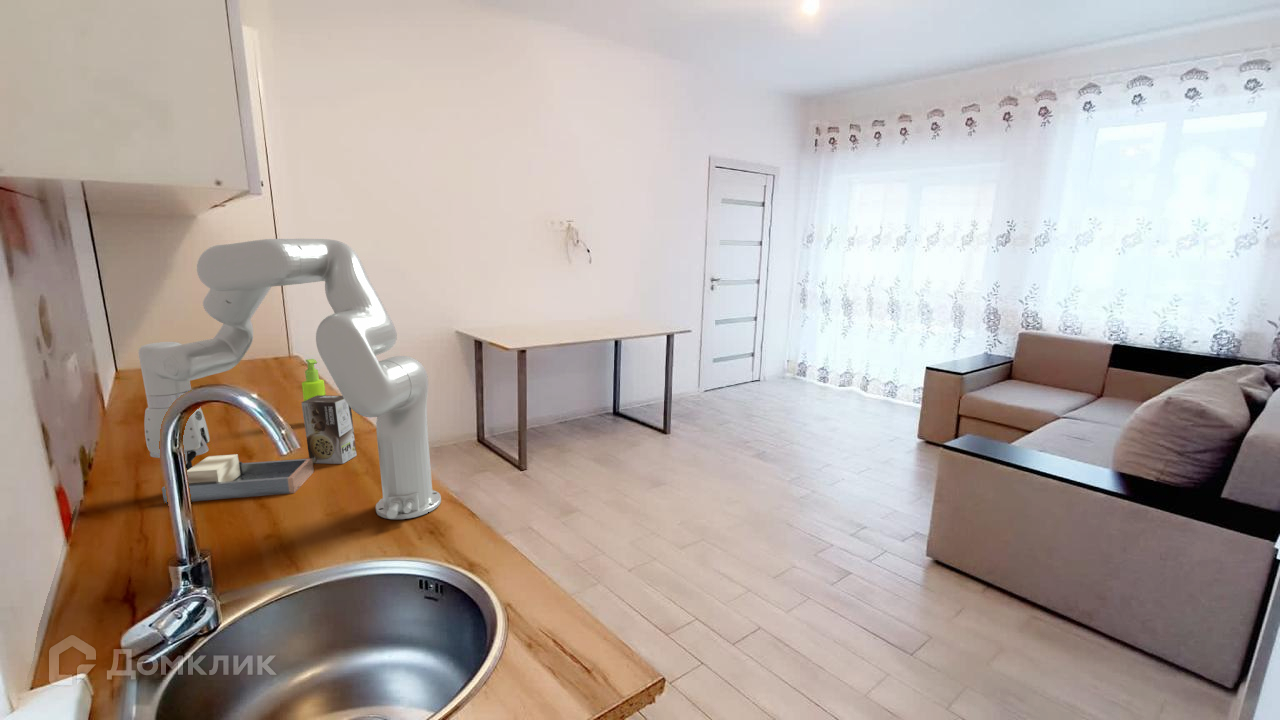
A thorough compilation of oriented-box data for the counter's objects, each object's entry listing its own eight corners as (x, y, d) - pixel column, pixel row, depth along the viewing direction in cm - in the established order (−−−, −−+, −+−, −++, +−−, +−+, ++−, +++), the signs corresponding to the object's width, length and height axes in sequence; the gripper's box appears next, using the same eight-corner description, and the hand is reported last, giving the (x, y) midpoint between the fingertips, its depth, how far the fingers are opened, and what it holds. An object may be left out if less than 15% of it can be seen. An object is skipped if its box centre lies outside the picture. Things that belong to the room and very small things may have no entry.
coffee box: (357, 455, 147) (351, 395, 143) (342, 464, 140) (335, 402, 137) (324, 454, 148) (317, 394, 144) (308, 463, 141) (300, 401, 138)
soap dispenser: (310, 428, 168) (302, 362, 164) (304, 423, 173) (296, 359, 169) (332, 424, 172) (324, 359, 168) (325, 419, 177) (318, 356, 173)
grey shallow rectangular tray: (294, 493, 124) (292, 476, 124) (164, 503, 120) (161, 486, 119) (313, 472, 136) (311, 456, 135) (196, 480, 131) (193, 464, 130)
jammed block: (220, 491, 122) (216, 469, 121) (188, 494, 121) (184, 472, 120) (240, 474, 131) (237, 454, 130) (211, 476, 130) (208, 456, 129)
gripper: (218, 393, 126) (230, 470, 130) (141, 397, 123) (156, 476, 127) (200, 402, 119) (213, 484, 123) (118, 406, 116) (134, 490, 120)
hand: (184, 479), depth 125 cm, fingers closed
